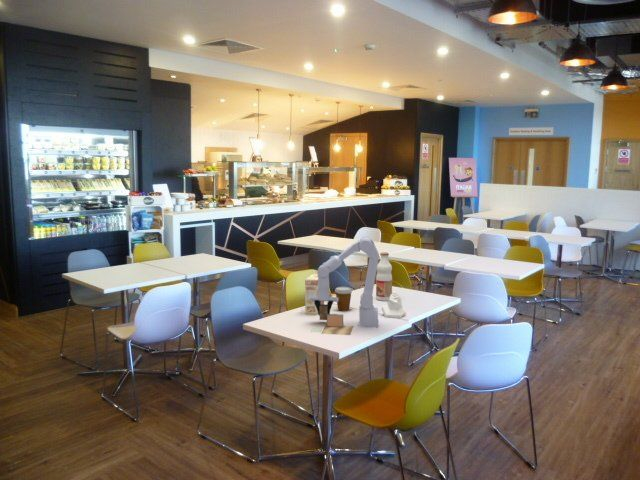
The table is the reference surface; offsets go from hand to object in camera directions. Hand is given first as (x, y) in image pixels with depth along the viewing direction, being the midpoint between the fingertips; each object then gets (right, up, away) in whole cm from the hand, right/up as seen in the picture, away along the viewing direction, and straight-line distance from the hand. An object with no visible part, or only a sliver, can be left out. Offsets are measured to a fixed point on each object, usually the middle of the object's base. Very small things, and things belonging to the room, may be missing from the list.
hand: (324, 315), depth 270 cm
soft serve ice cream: (+38, -2, +16) cm, 41 cm away
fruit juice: (+36, +2, +48) cm, 60 cm away
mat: (+7, -6, -11) cm, 14 cm away
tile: (+5, -5, -5) cm, 9 cm away
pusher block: (0, -2, 0) cm, 2 cm away
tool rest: (-4, -6, -11) cm, 13 cm away
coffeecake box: (-5, -1, +23) cm, 24 cm away
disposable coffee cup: (+11, -1, +26) cm, 29 cm away
